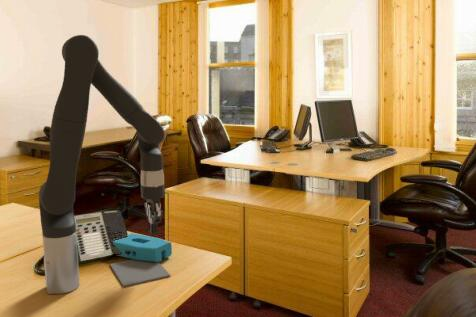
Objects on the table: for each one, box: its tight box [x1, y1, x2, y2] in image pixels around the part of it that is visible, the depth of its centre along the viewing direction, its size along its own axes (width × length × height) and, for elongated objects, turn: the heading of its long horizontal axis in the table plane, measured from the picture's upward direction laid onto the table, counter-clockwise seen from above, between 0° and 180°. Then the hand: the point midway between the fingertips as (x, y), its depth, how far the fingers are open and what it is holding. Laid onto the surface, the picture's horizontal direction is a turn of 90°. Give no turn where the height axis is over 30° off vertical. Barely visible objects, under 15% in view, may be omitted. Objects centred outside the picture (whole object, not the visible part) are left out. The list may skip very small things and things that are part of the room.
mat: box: [109, 259, 171, 288], centre depth 140 cm, size 15×18×1 cm
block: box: [113, 232, 173, 263], centre depth 152 cm, size 12×5×20 cm
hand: (154, 233), depth 141 cm, fingers closed
